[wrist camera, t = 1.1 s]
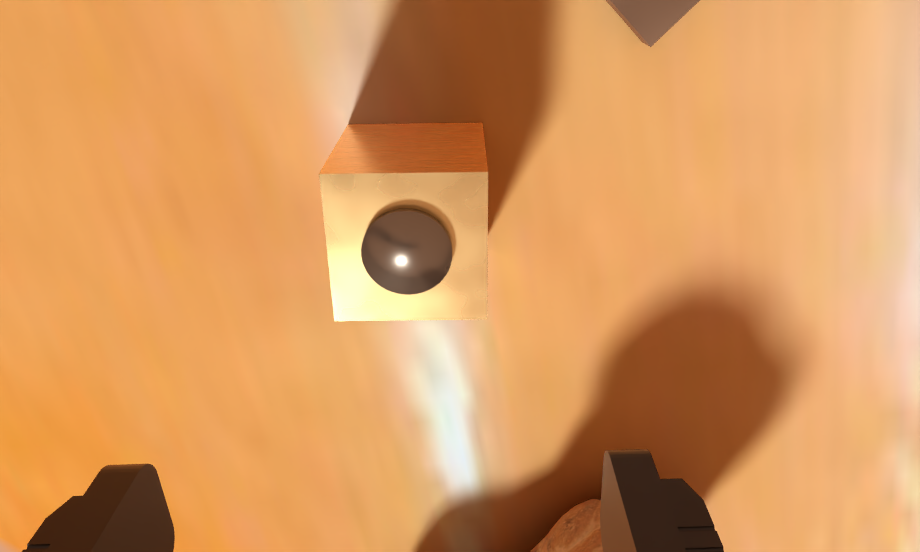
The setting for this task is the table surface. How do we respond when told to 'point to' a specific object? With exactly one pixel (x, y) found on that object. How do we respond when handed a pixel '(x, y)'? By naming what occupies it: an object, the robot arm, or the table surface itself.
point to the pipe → (575, 530)
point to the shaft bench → (651, 16)
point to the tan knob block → (407, 222)
